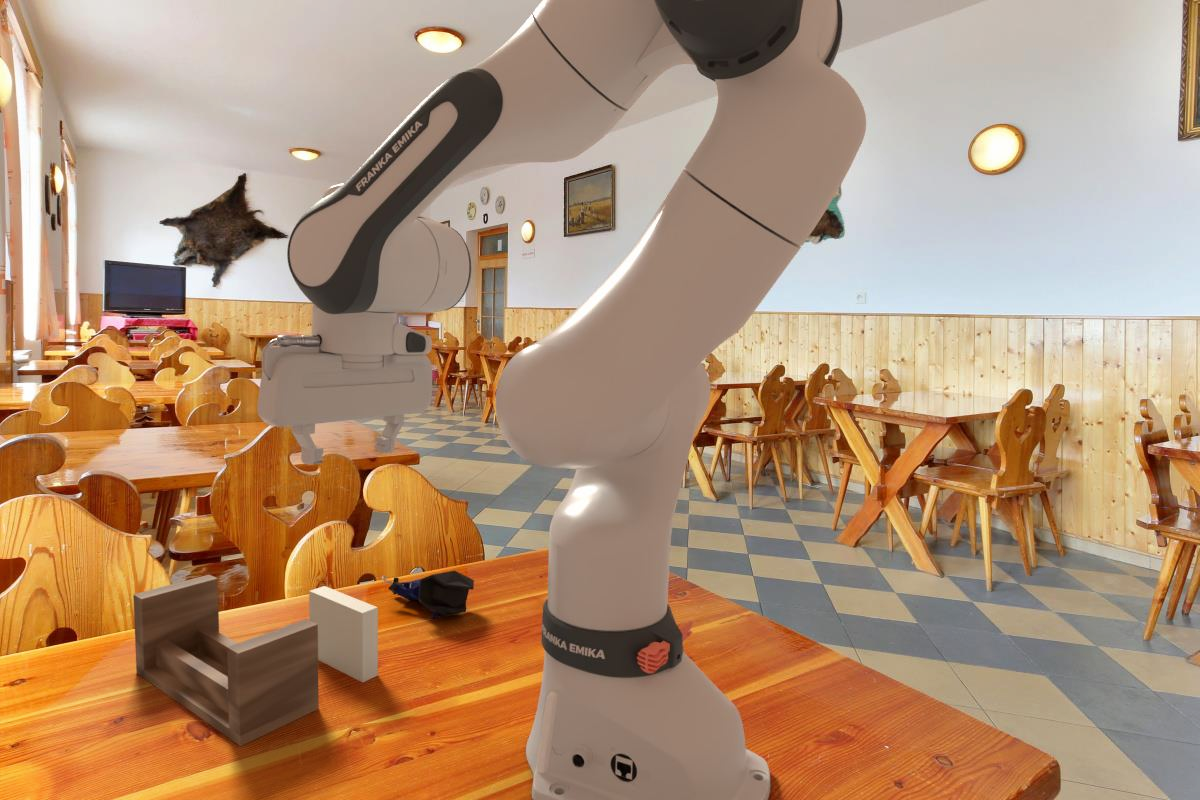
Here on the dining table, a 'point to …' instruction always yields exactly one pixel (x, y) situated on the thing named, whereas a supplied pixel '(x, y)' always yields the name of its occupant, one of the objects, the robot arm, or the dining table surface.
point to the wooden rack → (224, 662)
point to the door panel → (345, 632)
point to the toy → (437, 592)
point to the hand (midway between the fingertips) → (350, 457)
